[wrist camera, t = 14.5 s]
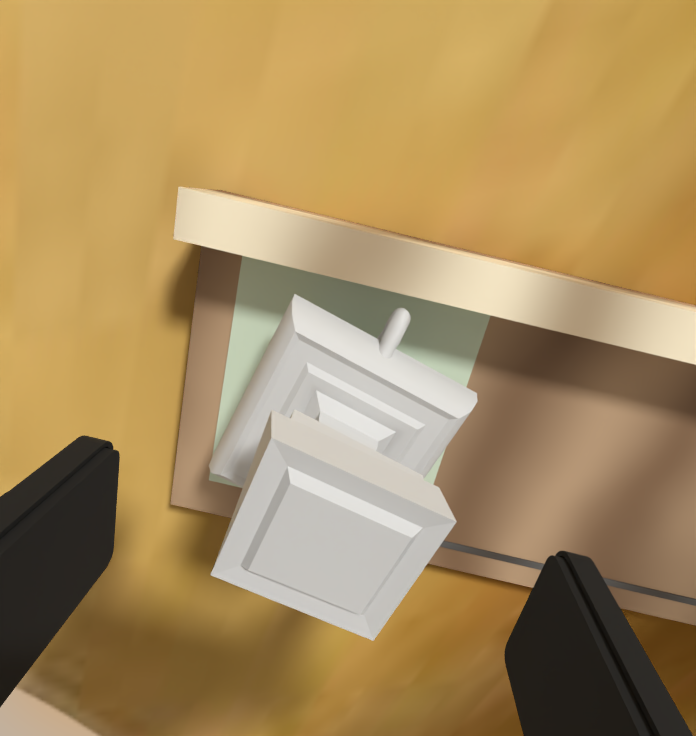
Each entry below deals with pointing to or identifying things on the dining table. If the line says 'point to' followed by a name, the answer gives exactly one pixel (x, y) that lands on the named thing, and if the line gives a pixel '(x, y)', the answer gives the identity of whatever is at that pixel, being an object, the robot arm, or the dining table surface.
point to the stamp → (337, 469)
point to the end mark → (355, 306)
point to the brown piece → (494, 399)
